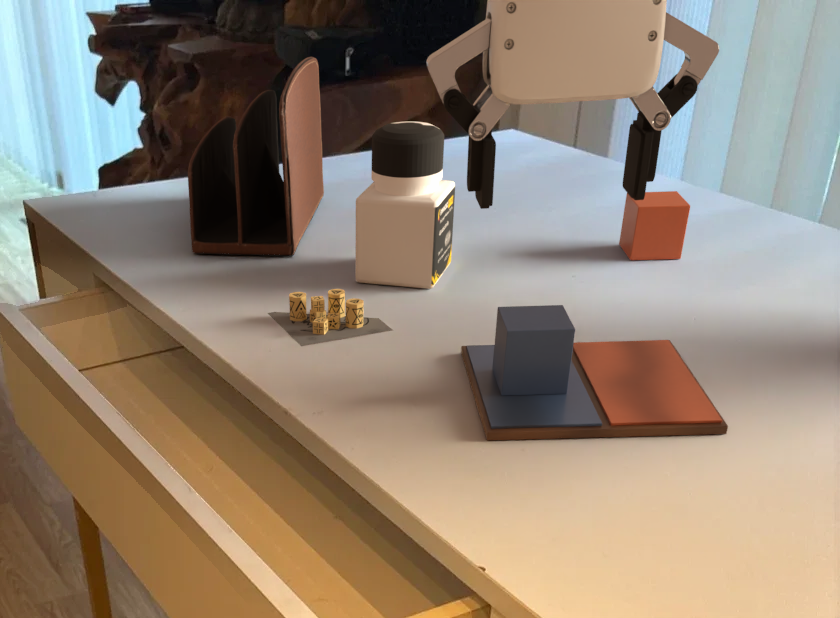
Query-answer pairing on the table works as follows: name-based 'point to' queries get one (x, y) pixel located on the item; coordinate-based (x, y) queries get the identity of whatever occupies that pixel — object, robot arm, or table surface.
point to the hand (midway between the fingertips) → (557, 198)
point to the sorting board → (599, 395)
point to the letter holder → (260, 173)
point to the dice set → (326, 319)
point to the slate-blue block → (533, 350)
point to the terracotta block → (654, 226)
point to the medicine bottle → (405, 209)
